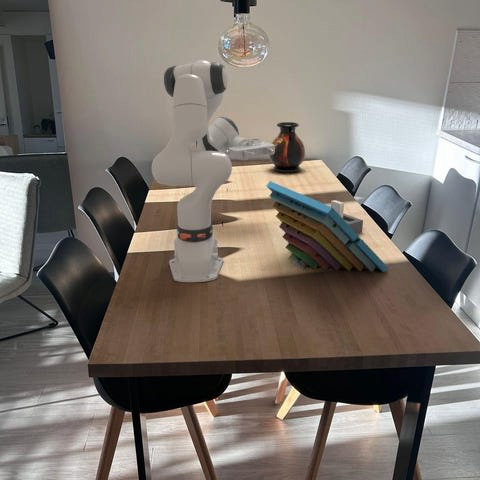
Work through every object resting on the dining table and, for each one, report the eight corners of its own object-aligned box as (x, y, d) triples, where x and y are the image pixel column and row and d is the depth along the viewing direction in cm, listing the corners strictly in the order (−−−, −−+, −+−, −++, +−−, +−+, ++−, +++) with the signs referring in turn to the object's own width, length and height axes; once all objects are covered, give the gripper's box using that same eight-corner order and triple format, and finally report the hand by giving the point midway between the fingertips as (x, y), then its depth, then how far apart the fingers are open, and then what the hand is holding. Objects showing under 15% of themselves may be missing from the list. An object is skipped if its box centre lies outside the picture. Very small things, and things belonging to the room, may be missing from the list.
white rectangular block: (342, 231, 195) (344, 203, 191) (338, 233, 194) (340, 203, 190) (332, 228, 199) (334, 200, 195) (329, 229, 198) (331, 200, 194)
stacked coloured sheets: (296, 270, 191) (239, 220, 171) (323, 234, 192) (269, 181, 172) (356, 309, 162) (295, 254, 142) (388, 267, 163) (332, 207, 143)
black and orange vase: (263, 168, 304) (264, 122, 294) (296, 165, 310) (297, 120, 300) (276, 176, 285) (277, 127, 275) (310, 173, 291) (312, 125, 281)
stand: (362, 231, 198) (363, 220, 196) (328, 242, 188) (329, 230, 186) (342, 224, 206) (342, 213, 205) (308, 234, 196) (309, 222, 195)
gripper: (222, 144, 198) (241, 148, 187) (262, 138, 209) (283, 143, 198) (222, 159, 200) (241, 165, 190) (262, 153, 211) (283, 158, 200)
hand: (263, 153), depth 194 cm, fingers open, 8 cm apart
